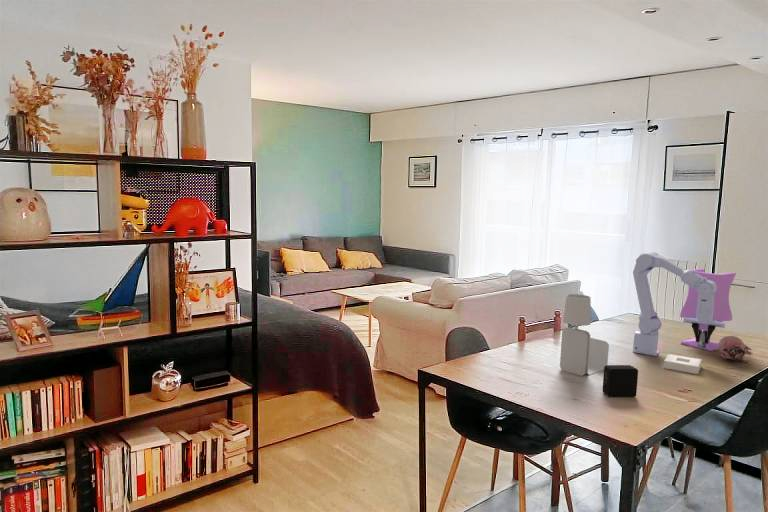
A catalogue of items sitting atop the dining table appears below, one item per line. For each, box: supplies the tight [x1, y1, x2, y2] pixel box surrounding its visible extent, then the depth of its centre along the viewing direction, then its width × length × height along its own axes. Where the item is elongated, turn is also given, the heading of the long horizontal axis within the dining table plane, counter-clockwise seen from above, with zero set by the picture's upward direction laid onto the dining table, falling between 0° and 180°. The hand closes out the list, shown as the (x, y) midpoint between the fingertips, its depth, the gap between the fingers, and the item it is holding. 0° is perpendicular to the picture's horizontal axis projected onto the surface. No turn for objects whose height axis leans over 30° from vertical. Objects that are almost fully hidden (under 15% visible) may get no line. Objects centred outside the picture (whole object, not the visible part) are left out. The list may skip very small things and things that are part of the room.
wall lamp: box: [559, 293, 610, 377], centre depth 211 cm, size 10×21×30 cm, turn 131°
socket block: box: [663, 353, 702, 375], centre depth 219 cm, size 12×12×3 cm
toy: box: [717, 335, 754, 363], centre depth 228 cm, size 12×11×15 cm
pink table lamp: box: [679, 268, 737, 352], centre depth 251 cm, size 16×16×35 cm
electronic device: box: [602, 364, 639, 398], centre depth 186 cm, size 4×10×10 cm, turn 95°
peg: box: [697, 330, 707, 349], centre depth 222 cm, size 3×3×7 cm
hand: (701, 342), depth 222 cm, fingers closed on peg, 3 cm apart
